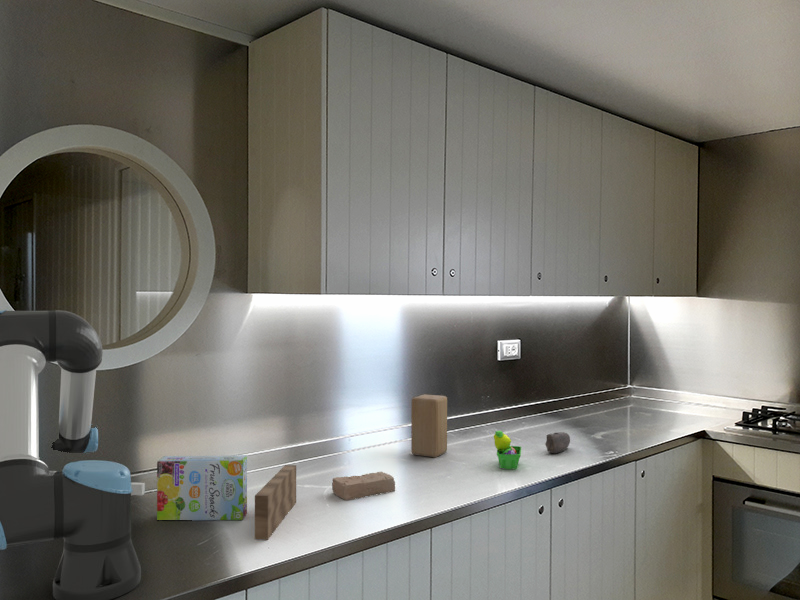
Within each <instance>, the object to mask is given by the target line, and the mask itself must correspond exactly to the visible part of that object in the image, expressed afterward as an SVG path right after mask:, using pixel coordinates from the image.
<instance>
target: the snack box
mask: <svg viewBox="0 0 800 600" xmlns="http://www.w3.org/2000/svg"><path fill="white" fill-rule="evenodd" d="M156 465H157V466H156V520H186V519H187V520H192V521H242V520H244V518H245V517H246V515H247V514H248V456H247V454H238V455H237V454H236V455H234V454H233V455H232V454H231V455H223V454H221V455H164V456H163V457H161V458H160V459H158V460H157V462H156Z"/></svg>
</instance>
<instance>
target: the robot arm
mask: <svg viewBox="0 0 800 600" xmlns="http://www.w3.org/2000/svg"><path fill="white" fill-rule="evenodd" d="M102 344H103V343H102V342H101V338H100V337H99V335H98V333H97V331H96V330H95V328H94V327H93V326H92V325H91V324H90V323H89V322H88V321H87V320H86V319H84V318H83V317H82V316H81V315H78V314H77V313H74V312H71V311H67V310H61V309H60V310H57V309H56V310H7V309H3V310H0V550H1V551H2V550H6V549H8V548H14V547H20V546H26V545H32V544H38V543H42V542H49V541H54V540H59V539H60V540H61V539H63V551H62V554H61V557H60V560H59V563H58V566H57V569H56V572H55V574H54V578H53V581H52V596H53V598H54V599H55V600H113V599H116V598H118V597H121V596H123V595H125V594H128V593H130V592H131V591H132V590H134V589H135V588H136V587H138V586H139V584H140V583H141V580H142V567H141V563H140V561H139V559H138V555H137V552H136V550H135V546H134V544H133V542H132V496H143V495H145V494H146V489H145V488H146V482H132V480H131V479H132V475H131V471H130V469H129V468H128V467H127V466H125V465H124V464H122V463H118V462H115V461H110V460H109V461H108V460H100V459H99V460H98V459H97V460H96V459H95V460H93V459H91V460H90V459H89V460H85V459H84V460H77V461H71V462H69V463H67V464H65V465H64V466H63V468H62V470H60V471H57V470H49V466H48V465H47V464H46V463H45V462H44V461H43V460H40V457H39V429H40V420H39V418H40V415H39V414H40V413H39V411H40V410H39V407H40V406H39V374H40V373H41V372H42V371H43V370H44V368H45V366H46V364H47V363H55V362H56V363H57V365H58V366H59V368H60V370H61V371H60V387H59V388H60V391H59V414H58V417H59V418H58V428H59V439H57V440H56V441H55V442H53V443H52V444H53V445H52V447H51V448H53V450H58V451H61V452H62V451H63V452H67V453H68V452H69V453H86V452H93V453H95V452H96V451H98V447H99V429H97V428H98V427H97V428H96V427H95V428H91V425H92V419H93V409H94V407H93V406H94V396H95V386H96V377H97V375H96V374H97V369H98V368H99V367H100V365H102V361H103V354H104V353H103V345H102ZM94 451H95V452H94ZM86 454H87V453H86Z"/></svg>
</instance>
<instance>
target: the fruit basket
mask: <svg viewBox="0 0 800 600" xmlns="http://www.w3.org/2000/svg"><path fill="white" fill-rule="evenodd" d="M493 438H494V439H493V440H494V446H495V448H496V456H497V459H498V463H499V467H500V469H501V468H505V470H518V466H519V461H520V458H521V456H522V447H521V446H518V445H515V446H514V445H511V443H512V440H511V438H510V437H509V436H508V435H507V434H505V433H504V432H503V431H502V430H495V432H494V435H493Z"/></svg>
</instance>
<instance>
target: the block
mask: <svg viewBox="0 0 800 600" xmlns="http://www.w3.org/2000/svg"><path fill="white" fill-rule="evenodd" d="M410 415H411V420H410V421H411V426H410V428H411V429H410V430H411V435H410V437H411V442H410V443H411V450H410V451H411V452H410V453H411V455H414V456H419V457H420V456H421V457H429V458H438V457H439V456H441V455H443V454H445V453H447V451H448V397H447V396H446V395H437V394H425V393H424V394H421V395H418V396H415V397H412V398H411V414H410Z"/></svg>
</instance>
